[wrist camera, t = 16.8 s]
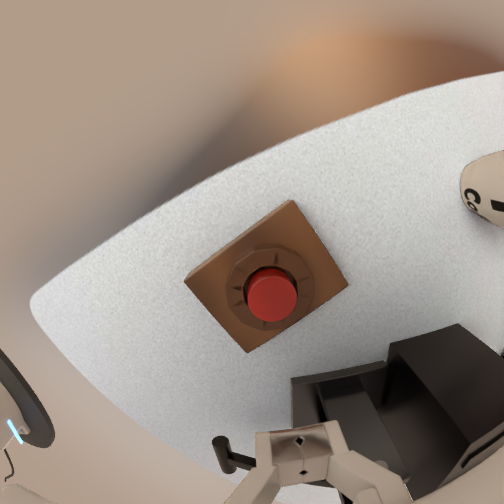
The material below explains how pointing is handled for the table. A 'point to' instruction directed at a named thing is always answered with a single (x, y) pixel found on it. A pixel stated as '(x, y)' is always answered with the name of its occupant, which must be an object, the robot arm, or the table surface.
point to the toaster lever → (242, 460)
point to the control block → (260, 258)
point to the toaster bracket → (349, 412)
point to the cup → (485, 187)
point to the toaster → (443, 405)
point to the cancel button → (271, 295)
